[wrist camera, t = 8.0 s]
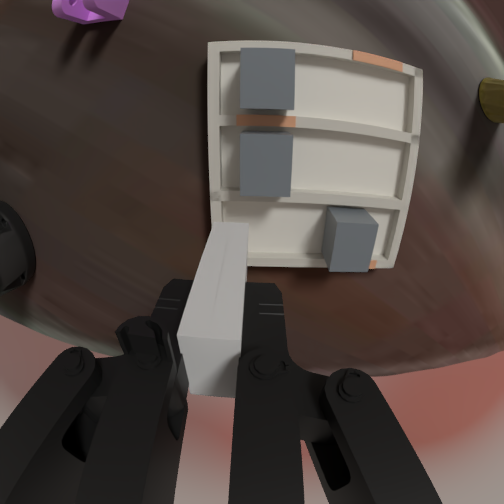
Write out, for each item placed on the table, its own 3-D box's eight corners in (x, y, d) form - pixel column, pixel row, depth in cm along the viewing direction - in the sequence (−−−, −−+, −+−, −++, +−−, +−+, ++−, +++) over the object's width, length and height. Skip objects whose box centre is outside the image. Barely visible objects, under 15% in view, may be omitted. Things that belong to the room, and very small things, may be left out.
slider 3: (321, 250, 28) (329, 271, 25) (327, 206, 26) (337, 222, 22) (356, 251, 28) (367, 271, 25) (364, 208, 26) (378, 224, 22)
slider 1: (243, 109, 22) (239, 108, 18) (243, 57, 19) (240, 47, 16) (288, 110, 21) (294, 110, 18) (289, 58, 19) (295, 49, 15)
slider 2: (242, 183, 25) (240, 195, 21) (243, 130, 22) (239, 133, 19) (285, 184, 25) (290, 197, 21) (288, 131, 22) (293, 135, 19)
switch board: (217, 252, 31) (213, 266, 28) (213, 48, 20) (207, 41, 17) (384, 256, 30) (393, 268, 28) (409, 71, 20) (423, 69, 17)
